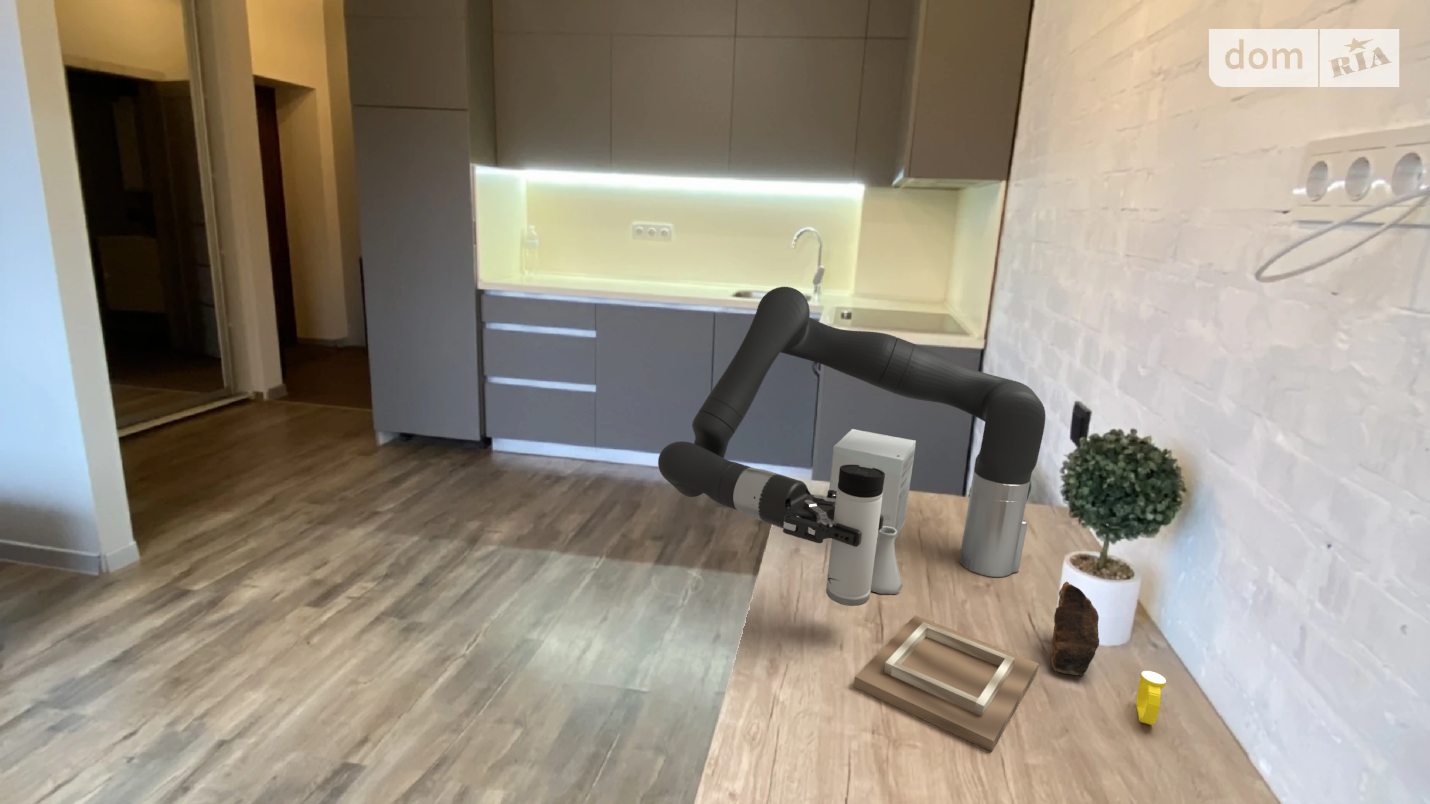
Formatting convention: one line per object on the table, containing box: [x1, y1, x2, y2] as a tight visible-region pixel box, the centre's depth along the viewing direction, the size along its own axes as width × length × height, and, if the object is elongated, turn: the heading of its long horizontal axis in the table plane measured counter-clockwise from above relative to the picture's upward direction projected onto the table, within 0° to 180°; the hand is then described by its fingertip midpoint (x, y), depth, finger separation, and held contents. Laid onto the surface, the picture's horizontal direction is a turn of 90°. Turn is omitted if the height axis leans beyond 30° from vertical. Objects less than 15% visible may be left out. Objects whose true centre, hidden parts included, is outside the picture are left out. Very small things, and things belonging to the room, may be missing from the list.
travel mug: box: [825, 464, 885, 607], centre depth 105 cm, size 6×7×20 cm
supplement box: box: [828, 428, 917, 542], centre depth 144 cm, size 13×13×18 cm
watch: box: [1135, 670, 1167, 726], centre depth 95 cm, size 6×3×6 cm, turn 158°
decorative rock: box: [1050, 581, 1100, 677], centre depth 106 cm, size 12×6×11 cm, turn 153°
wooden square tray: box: [853, 614, 1040, 753], centre depth 100 cm, size 20×18×3 cm
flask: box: [870, 526, 903, 595], centre depth 123 cm, size 7×7×10 cm
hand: (871, 531), depth 103 cm, fingers closed on travel mug, 6 cm apart
